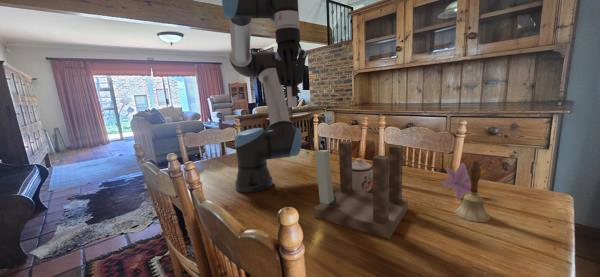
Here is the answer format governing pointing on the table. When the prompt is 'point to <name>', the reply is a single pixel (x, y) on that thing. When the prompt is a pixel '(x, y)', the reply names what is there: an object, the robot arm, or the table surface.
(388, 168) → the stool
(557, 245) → the table surface
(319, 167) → the folding leg
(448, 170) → the lily
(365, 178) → the teacup with lid
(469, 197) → the hand bell
